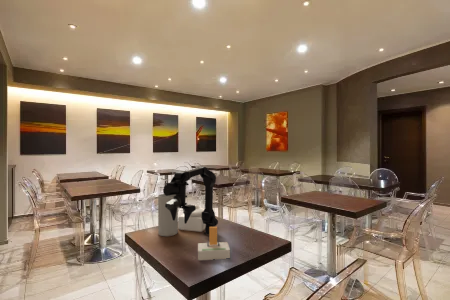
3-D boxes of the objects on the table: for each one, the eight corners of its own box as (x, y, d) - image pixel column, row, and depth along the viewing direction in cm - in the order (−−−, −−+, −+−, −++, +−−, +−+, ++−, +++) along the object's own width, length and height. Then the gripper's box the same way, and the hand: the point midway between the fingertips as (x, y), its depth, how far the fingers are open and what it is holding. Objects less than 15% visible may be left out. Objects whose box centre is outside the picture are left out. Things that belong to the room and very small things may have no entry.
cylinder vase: (168, 238, 148) (168, 198, 148) (154, 234, 154) (154, 195, 154) (181, 232, 159) (181, 194, 158) (168, 228, 165) (168, 192, 165)
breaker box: (198, 251, 129) (198, 240, 129) (227, 250, 131) (227, 239, 130) (198, 260, 119) (198, 248, 119) (229, 258, 121) (229, 247, 121)
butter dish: (178, 229, 164) (178, 206, 164) (189, 221, 181) (189, 200, 181) (201, 232, 159) (201, 208, 159) (211, 223, 176) (211, 202, 176)
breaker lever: (209, 243, 127) (209, 226, 127) (216, 243, 127) (216, 226, 127) (209, 244, 125) (209, 227, 125) (217, 244, 126) (217, 227, 126)
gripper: (158, 193, 133) (157, 221, 132) (182, 197, 122) (181, 228, 121) (173, 191, 142) (172, 218, 141) (196, 195, 131) (195, 223, 131)
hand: (179, 221), depth 133 cm, fingers open, 9 cm apart
